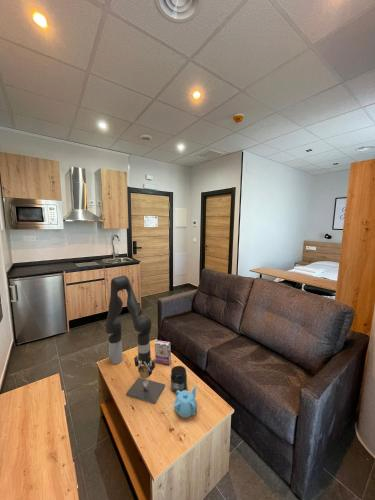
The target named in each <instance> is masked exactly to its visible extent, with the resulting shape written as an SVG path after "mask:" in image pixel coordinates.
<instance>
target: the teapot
mask: <svg viewBox="0 0 375 500" xmlns="http://www.w3.org/2000/svg"><path fill="white" fill-rule="evenodd" d="M197 386H198V385H197V384H196V385H194V386H193V389H192V392H190V391H188V390H187V389H186V390H183V391H181V392H180V391H179V390H178V391H176V392H175V395H176V396H175V400H174V405H173V409H174V411H176V413H177V414H178V415H179V416H180V417H182V418H183V419H184V420H187V418H190V417H191V416H196V412H195V411H196V410H197V407H198V406H197V400H196V392H197V391H196V390H197Z"/></svg>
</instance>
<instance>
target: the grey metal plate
mask: <svg viewBox="0 0 375 500" xmlns="http://www.w3.org/2000/svg"><path fill="white" fill-rule="evenodd" d="M165 387H166V384H165V383H162V382H157V381H153V380H149V379H147V378H146V379H143V378H141V377H140V376H139V377H137V379H136V380H135V381H134V382H133V384H132V385H131V386H130V388H129V389H128V390H127V391H126V393H125V395H126V397H130V398H134V399H136V400H140V401H145V402H147V403H151V404H154V405H156V403H157V401H158V400H159V398H160V396H161V394H162V393H163V391H164V389H165Z"/></svg>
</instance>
